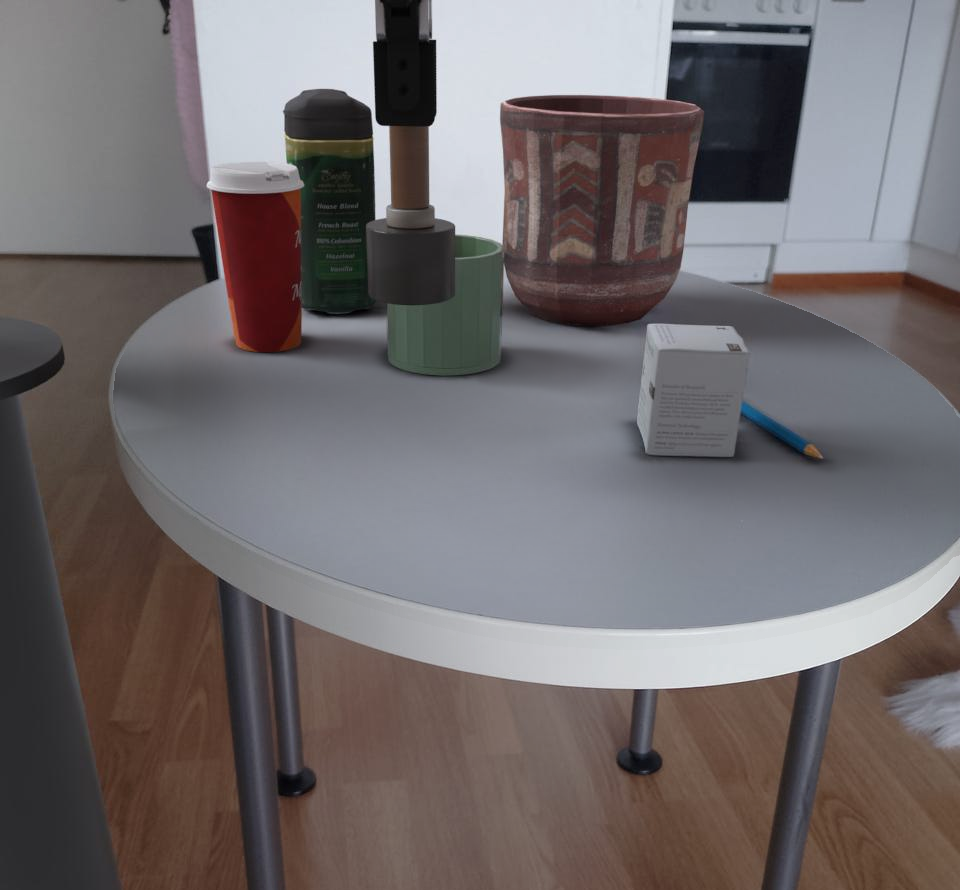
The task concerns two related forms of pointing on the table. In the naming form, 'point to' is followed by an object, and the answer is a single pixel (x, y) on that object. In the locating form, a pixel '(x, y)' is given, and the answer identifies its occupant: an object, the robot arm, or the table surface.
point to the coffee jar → (332, 196)
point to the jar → (454, 318)
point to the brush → (410, 231)
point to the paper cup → (260, 251)
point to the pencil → (779, 430)
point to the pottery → (595, 203)
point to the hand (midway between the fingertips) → (406, 119)
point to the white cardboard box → (692, 390)
